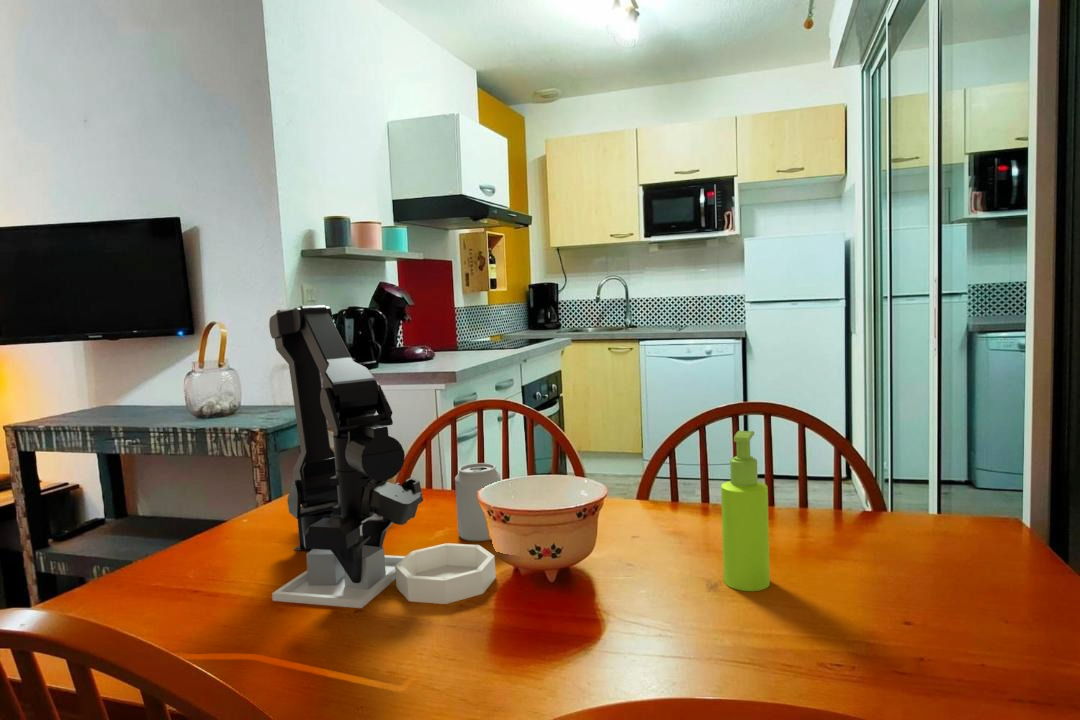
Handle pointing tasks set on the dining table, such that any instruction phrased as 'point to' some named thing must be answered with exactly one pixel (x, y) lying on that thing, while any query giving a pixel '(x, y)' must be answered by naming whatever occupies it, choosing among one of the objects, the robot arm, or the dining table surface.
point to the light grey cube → (369, 568)
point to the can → (473, 500)
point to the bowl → (445, 573)
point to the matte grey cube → (323, 568)
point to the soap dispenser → (745, 522)
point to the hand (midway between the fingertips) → (365, 575)
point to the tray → (335, 590)
